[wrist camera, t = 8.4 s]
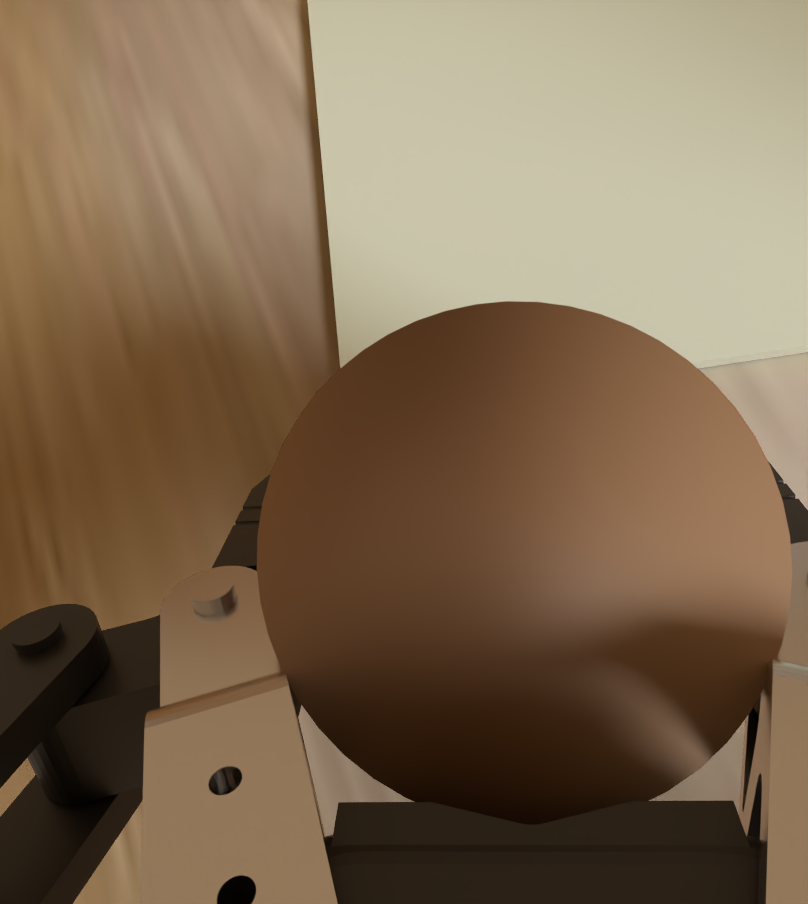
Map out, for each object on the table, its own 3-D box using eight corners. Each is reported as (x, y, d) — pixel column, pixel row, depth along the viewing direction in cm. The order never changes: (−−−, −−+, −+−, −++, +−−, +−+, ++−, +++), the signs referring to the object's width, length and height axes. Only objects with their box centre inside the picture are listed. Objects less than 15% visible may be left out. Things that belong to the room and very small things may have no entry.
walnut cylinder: (600, 482, 16) (716, 266, 8) (649, 727, 15) (866, 798, 6) (375, 512, 17) (247, 339, 8) (398, 752, 15) (268, 853, 6)
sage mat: (854, -117, 20) (861, -132, 20) (1045, 317, 16) (1058, 308, 16) (308, -8, 22) (305, -20, 21) (347, 420, 17) (344, 414, 17)
